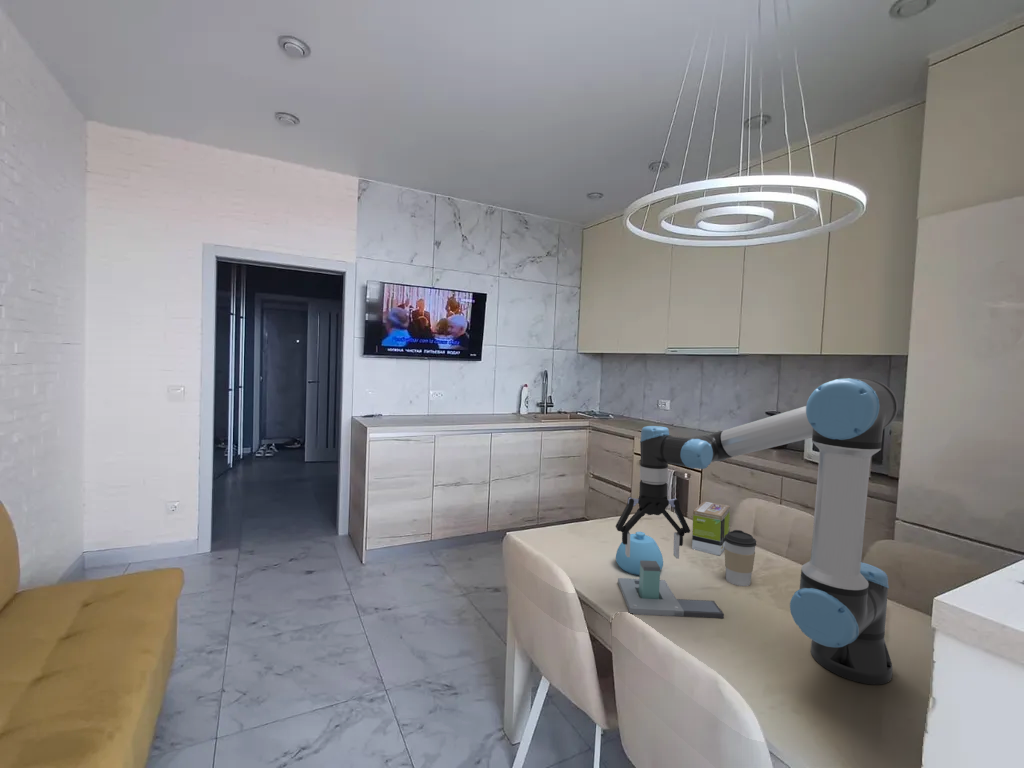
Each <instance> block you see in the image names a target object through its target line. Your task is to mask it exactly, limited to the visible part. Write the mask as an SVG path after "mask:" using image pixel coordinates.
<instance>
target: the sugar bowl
mask: <svg viewBox="0 0 1024 768" xmlns="http://www.w3.org/2000/svg"><path fill="white" fill-rule="evenodd" d="M625 545H626V544H623V542H622V541H621V543H620V544H619V546H618V548H617V550H616V553H615V561H616V563H617V564H618V567H619V568H620V569H622V570H623V571H624V572H626V573H628V574H631V575H635V576H640V560H643V561H656V562H657V563H658V565H659V567H660V571H662V569H663V567H664V559H663V553H662V551H661V549H660V547H659V545H658V544H657V542H656V540H655V539H654V537H651V536H649V535H647V534H646V533H645V532H643V531H636V532H635V533H630V557H627V556H626V554H625Z"/></svg>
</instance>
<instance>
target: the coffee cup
mask: <svg viewBox="0 0 1024 768" xmlns="http://www.w3.org/2000/svg"><path fill="white" fill-rule="evenodd" d="M724 540H725V549H724V566H725V580H726V582H727V583H730V584H731V585H734V586H738V587H739V586H740V587H748V586H750V585H751V581H752V574H753V571H754V564H755V563H754V562H755V557H756V546H757V540H756V539H755V538H754V537H753V535H752V534H750V533H747V532H744V531H743V530H740V529H734V530H732V531H729V533H728V534H726V535H725V538H724Z"/></svg>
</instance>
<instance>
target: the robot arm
mask: <svg viewBox="0 0 1024 768" xmlns="http://www.w3.org/2000/svg"><path fill="white" fill-rule="evenodd" d="M898 410H899V402H898V399H897V397H896V395H895V393H894V392H893V390H892V389H891V388H890V387H888V386H887V385H886V384H884V383H883V382H880V381H878V380H874V379H870V378H850V377H848V378H838V379H833V380H830V381H828V382H827V381H826V382H825V383H822V384H821V385H819V386H818V387H816V388H815V389H814V390H813V391H812V392H811V394H810V396H809V397H808V399H807V401H806V405H804V406H801V407H797V408H795V409H791V410H787V411H785V412H781V413H777V414H774V415H772V416H768V417H764V418H760V419H758V420H754V421H751V422H748V423H743V424H741V425H737V426H734V427H731V428H727V429H723V430H719V431H716V432H713V433H709V434H706V435H705V434H704V435H699V436H698V435H696V436H690V437H683V436H676V435H675V436H673V435H670V430H669V429H670V428H668V427H666V426H659V425H647V426H643V427H642V428H641V433H640V441H639V443H640V448H639V449H640V462H639V463H640V464H639V480H641V481H640V482H639V493H638V495H639V496H638V498H635V497H634V498H633V497H632V496H628V497H627V503H626V506H625V507H624V509H623V511H622V513H621V515H620V517H619V519H618V521H617V522H616V525H615V529H616V530H617V532H621V542H623V544H626V545H625V554H626V556H627V557H630V534H631V533H630V531H631V530H632V529H633V528H634V526H635V525H636V524H637V523H638V521H639V520H641V519H642V518H643V517H644V516H645V515H648V516H653V515H654V516H660V515H663V516H664V518H665V519H667V521H668V522H669V524H670V525H671V526H672V527H673V528H674V529H675V531H674V532H673V555H672V556H673V557H674V558H675V559H676V560H677V559H680V547H683V544H684V536H685V534H689V533H690V532H691V529H690V526H689V525H688V523H687V521H686V518H685V517H684V514H683V512H682V510H681V508H680V501H679V500H678V499H677V498H676V497H672V498H670V499H668V488H669V487H668V483H667V482H668V481H669V480H668V478H669V477H668V476H669V465H676V466H680V467H686V468H690V469H698V470H704V469H706V468H708V466H709V465H711V463H712V462H713V463H715V462H720V461H725V460H727V459H730V458H734V457H738V456H743V455H748V454H750V453H755V452H759V451H763V450H767V449H771V448H776V447H779V446H783V445H787V444H792V443H796V442H801V441H804V440H808V439H811V443H812V444H814V446H815V447H816V448H817V449H818V450H819V454H818V455H819V456H818V466H817V467H818V468H817V478H816V479H817V480H816V490H815V491H816V493H815V503H814V515H813V517H814V518H813V526H812V538H811V549H810V560H809V561H807V562H805V563H804V564H802V565H801V570H800V578H799V581H800V582H799V589H798V590H796V591H795V592H794V594H793V595H792V596H791V599H790V602H789V611H790V614H791V617H792V619H793V622H794V623H795V624H796V626H798V628H799V629H800V631H801V632H802V633H803V634H804V635H805V636H807V638H809V639H810V640H811V644H810V653H811V655H812V658H813V659H814V660H815V661H816V663H818V664H819V665H820V666H822V667H824V669H826V670H828V671H829V672H832V673H833V674H835V675H837V676H839V677H842V678H844V679H847V680H849V681H853V682H857V683H859V684H865V685H884V684H888V683H889V682H890V681H891V680H892V679H893V663H892V660H891V656H890V654H889V650H888V646H887V644H886V640H885V635H886V630H885V629H886V621H887V617H886V616H887V608H888V607H887V606H888V605H887V604H888V594H889V593H888V592H889V589H890V586H889V577H888V575H887V573H886V572H885V571H884V570H883V569H881V568H879V567H877V566H875V565H871V564H869V563H866V562H862V557H863V544H864V533H865V524H866V511H867V500H868V491H869V490H868V489H869V478H870V467H871V466H870V465H871V458H872V456H874V455H875V454H877V453H878V452H879V451H881V450H882V442H883V434H884V433H883V431H884V429H885V428H887V427H888V426H890V425H891V424H892V423H893V422H894V420H895V419H896V417H897V414H898ZM637 504H638V506H639V507H638V509H637V510H636V511H635V513H634V514H633V515H632V516H630V514H631V512H632V510H633V509H634V507H636V505H637ZM669 505H670V506H671V507H672V508H673V510H674V513H675V515H676V517H677V519H678V521H679V523H680V525H681V527H680V526H679V525H678V524H677V522H676V521H675V519H673V517H672V516H671V515H670V514H669V513H668V511H667V510H666V508H667V507H668V506H669ZM629 517H630V519H628V518H629ZM627 520H628V521H627ZM626 521H627V522H626ZM891 678H892V679H891ZM890 679H891V680H890ZM888 681H889V682H888ZM887 682H888V683H887Z"/></svg>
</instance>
